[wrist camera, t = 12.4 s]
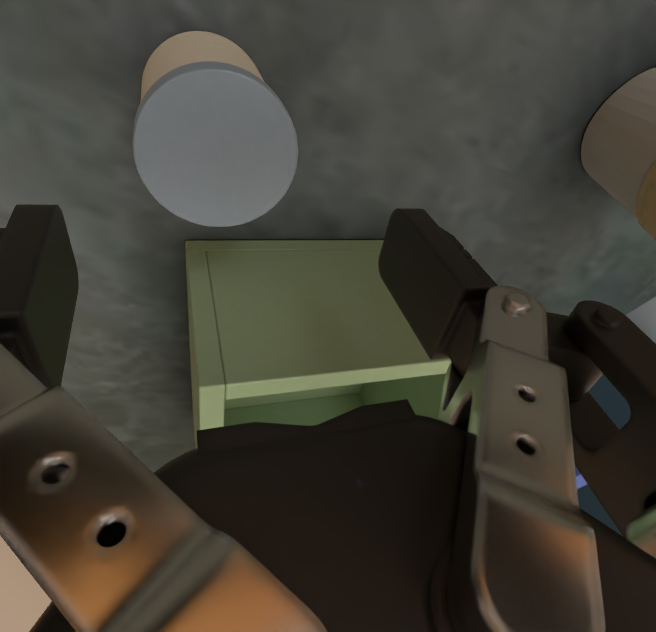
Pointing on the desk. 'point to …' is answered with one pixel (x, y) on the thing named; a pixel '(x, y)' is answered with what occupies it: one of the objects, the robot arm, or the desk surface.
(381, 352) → the green box
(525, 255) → the desk surface
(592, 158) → the coffee cup
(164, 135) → the container
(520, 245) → the desk surface
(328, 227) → the desk surface
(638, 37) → the desk surface
